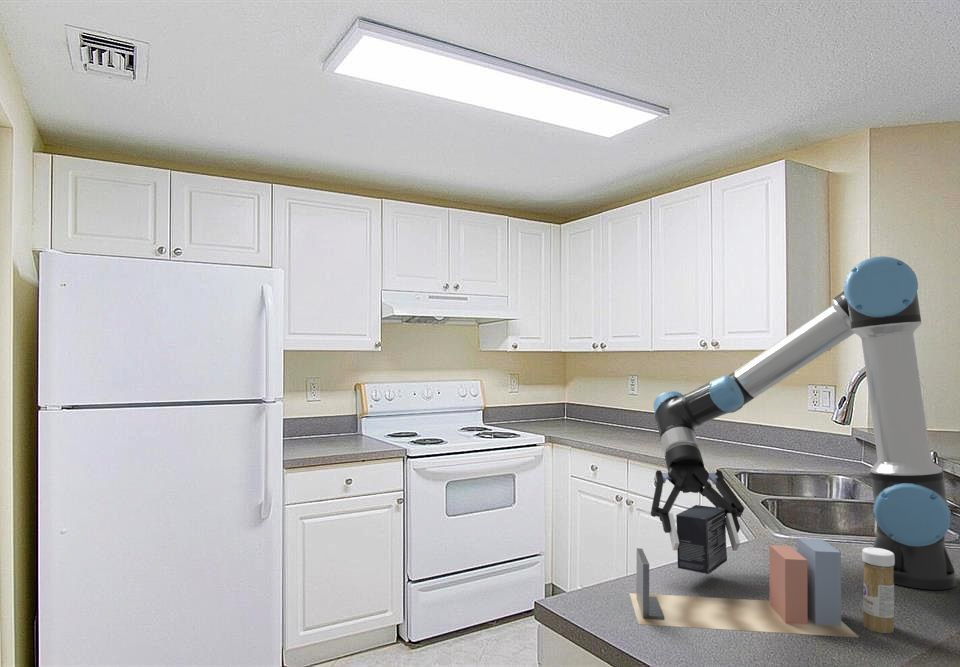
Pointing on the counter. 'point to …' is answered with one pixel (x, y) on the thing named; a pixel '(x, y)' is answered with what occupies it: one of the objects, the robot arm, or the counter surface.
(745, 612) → the shelf board
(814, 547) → the book
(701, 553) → the small box
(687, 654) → the counter surface
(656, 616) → the bookend
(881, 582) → the sprinkles bottle
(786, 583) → the book
